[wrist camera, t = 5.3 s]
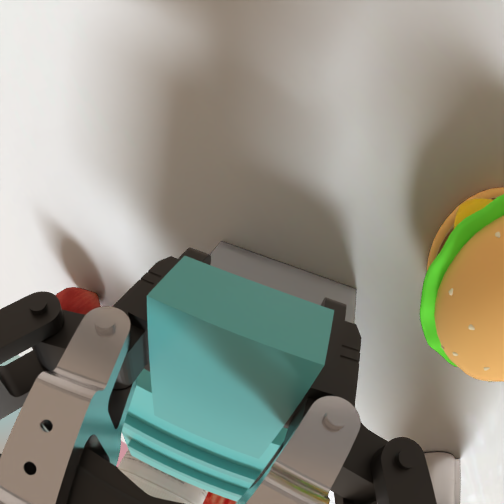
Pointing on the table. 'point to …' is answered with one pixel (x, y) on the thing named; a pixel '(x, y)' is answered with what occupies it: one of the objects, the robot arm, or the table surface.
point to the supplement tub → (160, 482)
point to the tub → (282, 277)
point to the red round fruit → (78, 300)
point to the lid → (222, 375)
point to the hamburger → (468, 287)
